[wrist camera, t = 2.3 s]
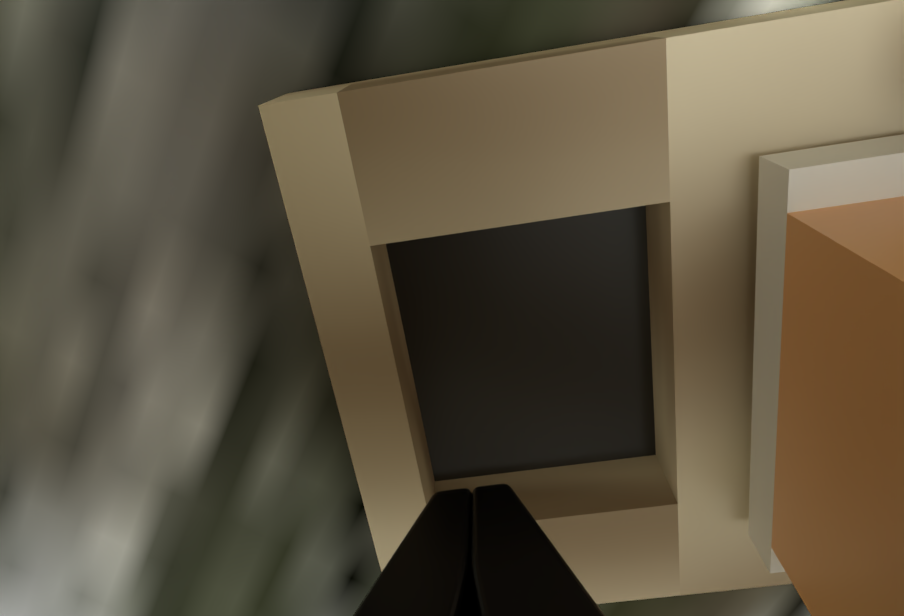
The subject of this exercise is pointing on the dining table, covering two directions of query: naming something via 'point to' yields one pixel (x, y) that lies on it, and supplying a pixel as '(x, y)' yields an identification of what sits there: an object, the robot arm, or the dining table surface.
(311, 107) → the deck
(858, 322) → the sled
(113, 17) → the dining table surface
